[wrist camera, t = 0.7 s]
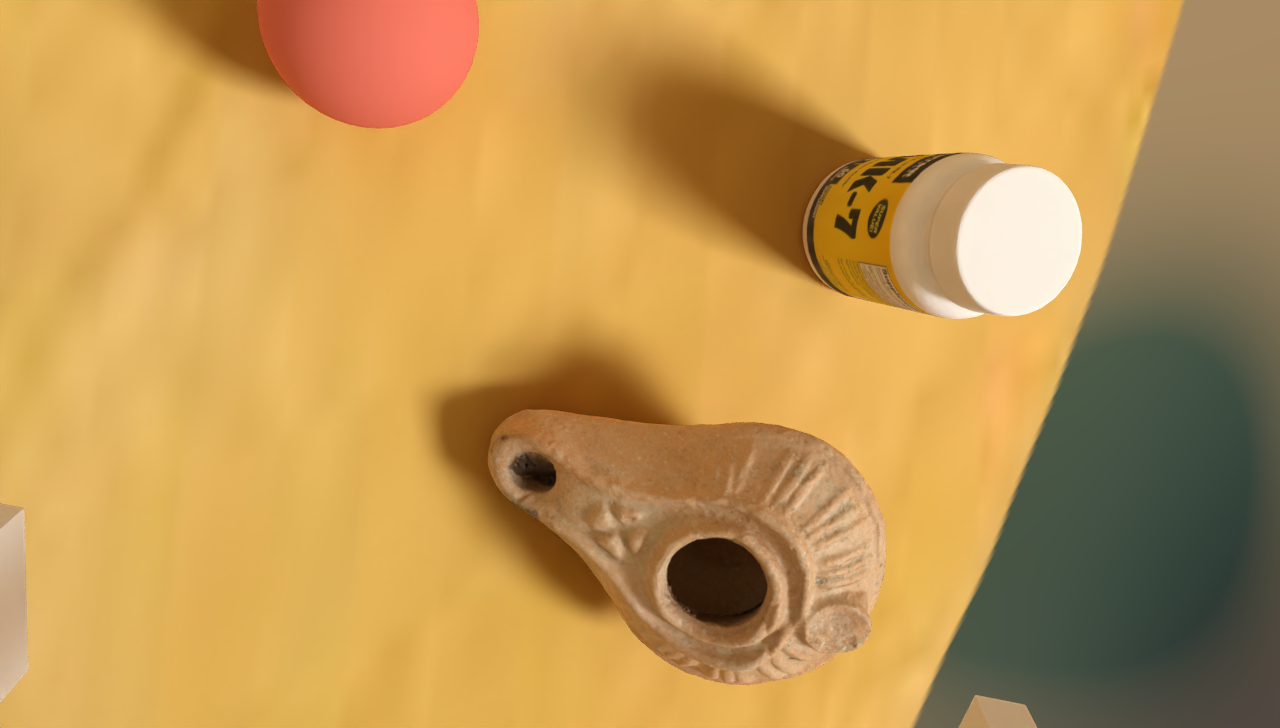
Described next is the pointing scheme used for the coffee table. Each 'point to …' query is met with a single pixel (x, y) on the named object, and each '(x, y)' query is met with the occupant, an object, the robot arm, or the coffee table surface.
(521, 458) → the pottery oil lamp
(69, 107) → the coffee table surface
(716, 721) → the coffee table surface
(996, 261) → the supplement bottle
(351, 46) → the ball
